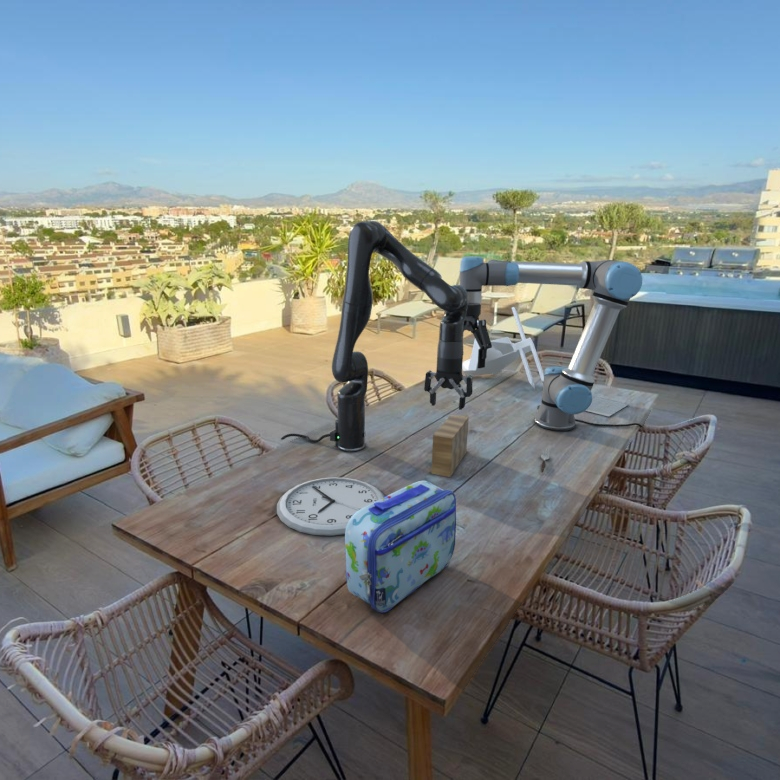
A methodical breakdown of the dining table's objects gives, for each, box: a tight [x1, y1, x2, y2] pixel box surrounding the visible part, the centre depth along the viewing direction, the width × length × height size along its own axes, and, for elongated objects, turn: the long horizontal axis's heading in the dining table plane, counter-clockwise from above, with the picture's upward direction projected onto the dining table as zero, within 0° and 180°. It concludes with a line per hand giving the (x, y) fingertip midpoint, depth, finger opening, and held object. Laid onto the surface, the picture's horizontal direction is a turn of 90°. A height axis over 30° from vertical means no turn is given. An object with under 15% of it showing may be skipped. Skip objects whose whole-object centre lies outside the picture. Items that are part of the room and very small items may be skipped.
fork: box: [540, 448, 551, 473], centre depth 170 cm, size 3×16×2 cm, turn 160°
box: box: [430, 414, 470, 478], centre depth 168 cm, size 20×6×13 cm, turn 158°
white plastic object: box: [462, 306, 545, 390], centre depth 260 cm, size 37×45×31 cm
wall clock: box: [276, 476, 386, 537], centre depth 142 cm, size 30×2×30 cm
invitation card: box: [584, 396, 629, 418], centre depth 226 cm, size 21×1×15 cm
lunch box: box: [344, 480, 457, 614], centre depth 109 cm, size 26×11×21 cm, turn 135°
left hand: (447, 407), depth 158 cm, fingers open, 8 cm apart
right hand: (467, 363), depth 185 cm, fingers open, 13 cm apart
